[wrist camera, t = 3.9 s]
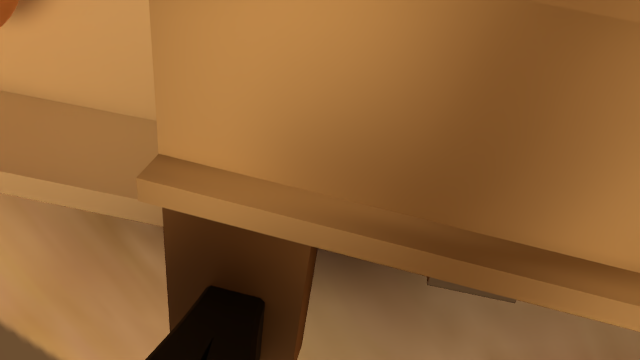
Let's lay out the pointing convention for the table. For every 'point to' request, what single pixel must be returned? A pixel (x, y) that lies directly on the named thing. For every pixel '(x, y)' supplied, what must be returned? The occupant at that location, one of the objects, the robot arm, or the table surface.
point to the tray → (78, 105)
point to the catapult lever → (398, 149)
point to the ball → (7, 10)
